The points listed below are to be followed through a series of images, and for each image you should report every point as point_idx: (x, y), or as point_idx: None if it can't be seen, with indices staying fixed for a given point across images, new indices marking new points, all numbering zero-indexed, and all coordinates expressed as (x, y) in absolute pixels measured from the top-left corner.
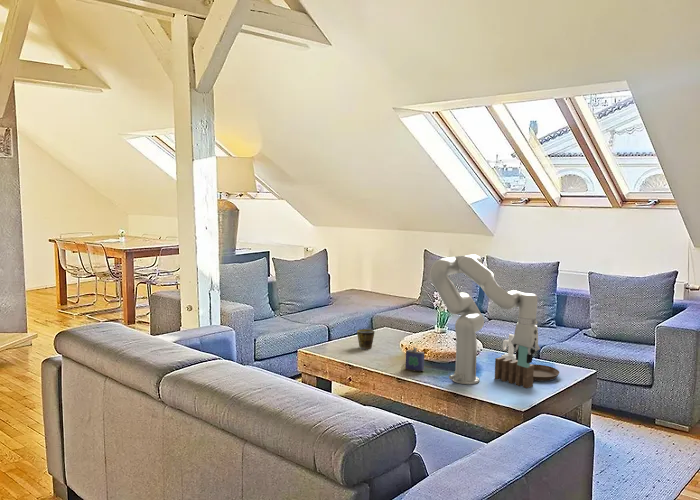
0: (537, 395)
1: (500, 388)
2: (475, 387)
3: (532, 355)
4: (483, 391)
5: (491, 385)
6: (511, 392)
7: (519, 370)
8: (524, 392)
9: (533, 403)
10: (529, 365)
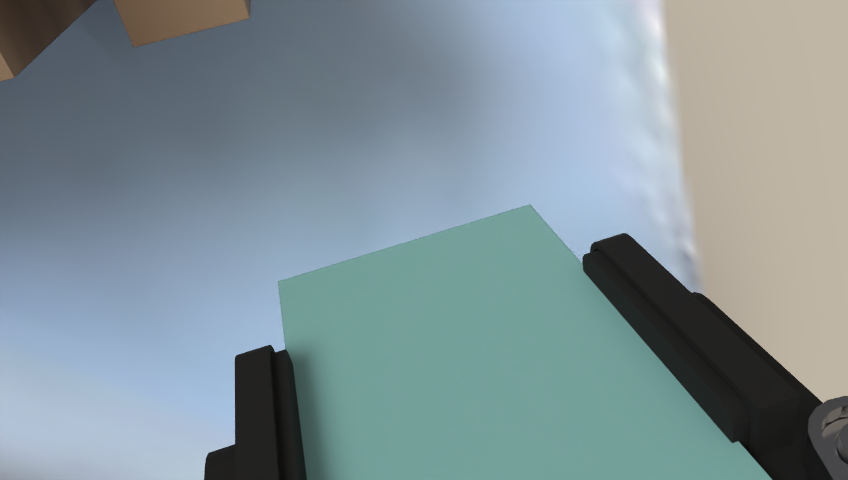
0: (553, 30)
1: (155, 270)
2: (50, 469)
3: (808, 400)
4: (202, 453)
5: (6, 304)
6: (333, 238)
7: (49, 39)
8: (395, 102)
9: (683, 236)
10: (548, 229)
